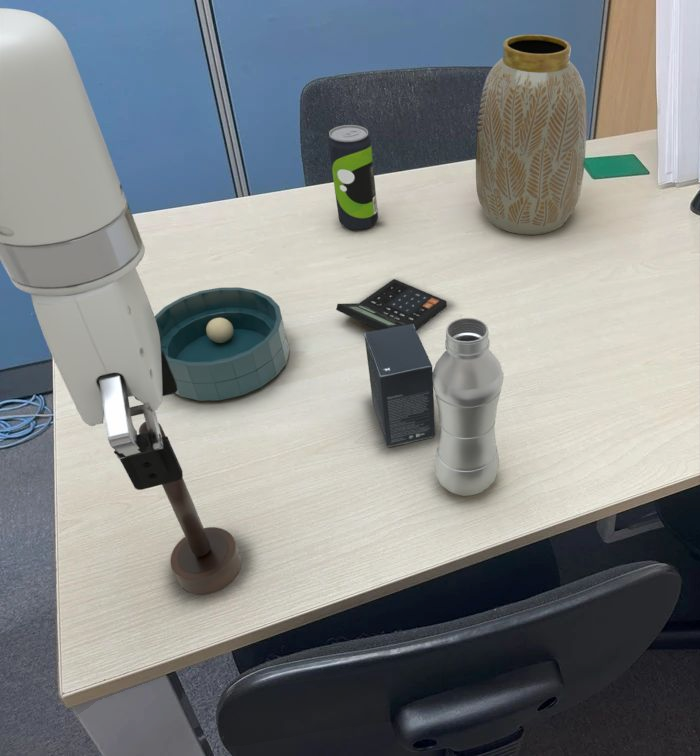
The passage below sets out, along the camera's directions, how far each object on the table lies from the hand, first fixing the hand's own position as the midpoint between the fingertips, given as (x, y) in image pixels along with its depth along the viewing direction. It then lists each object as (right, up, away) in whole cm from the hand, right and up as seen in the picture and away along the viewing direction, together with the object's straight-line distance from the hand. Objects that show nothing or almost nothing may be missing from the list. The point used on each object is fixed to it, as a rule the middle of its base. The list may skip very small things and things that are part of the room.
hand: (158, 435), depth 54 cm
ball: (-9, +10, +35) cm, 37 cm away
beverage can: (+3, +29, +60) cm, 67 cm away
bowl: (-8, +6, +33) cm, 35 cm away
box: (+15, -1, +27) cm, 31 cm away
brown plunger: (-1, -13, +12) cm, 18 cm away
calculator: (+11, +13, +42) cm, 45 cm away
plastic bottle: (+23, -7, +21) cm, 31 cm away
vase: (+30, +32, +64) cm, 77 cm away
